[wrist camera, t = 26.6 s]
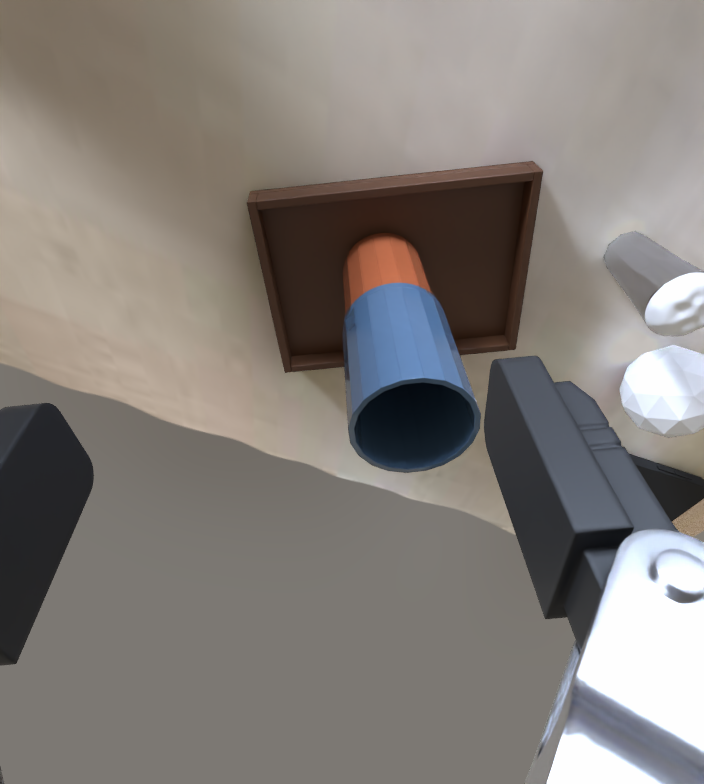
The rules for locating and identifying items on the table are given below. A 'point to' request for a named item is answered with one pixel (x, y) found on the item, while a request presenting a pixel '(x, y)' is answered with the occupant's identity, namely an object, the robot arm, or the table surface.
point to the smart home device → (671, 486)
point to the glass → (405, 381)
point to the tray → (421, 228)
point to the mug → (381, 265)
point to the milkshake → (658, 284)
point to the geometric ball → (665, 391)
